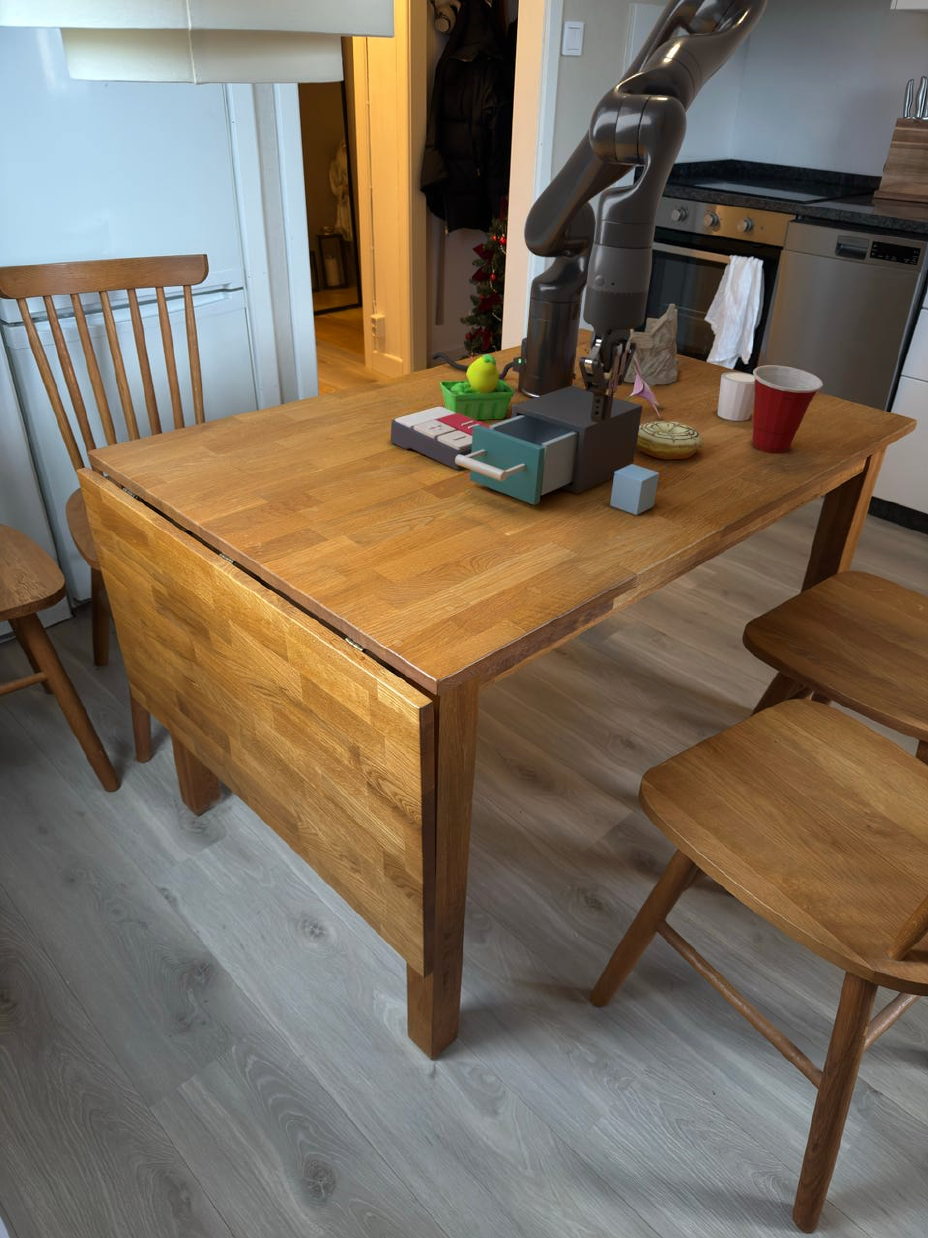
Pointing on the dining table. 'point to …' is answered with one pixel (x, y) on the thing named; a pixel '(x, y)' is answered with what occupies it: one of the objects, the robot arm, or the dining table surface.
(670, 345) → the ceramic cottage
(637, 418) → the cabinet
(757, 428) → the plastic cup
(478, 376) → the fruit basket
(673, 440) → the decorated donut
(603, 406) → the robot arm
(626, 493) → the blue block
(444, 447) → the calculator
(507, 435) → the drawer
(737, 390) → the white faceted cylinder
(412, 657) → the dining table surface
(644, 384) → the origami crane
